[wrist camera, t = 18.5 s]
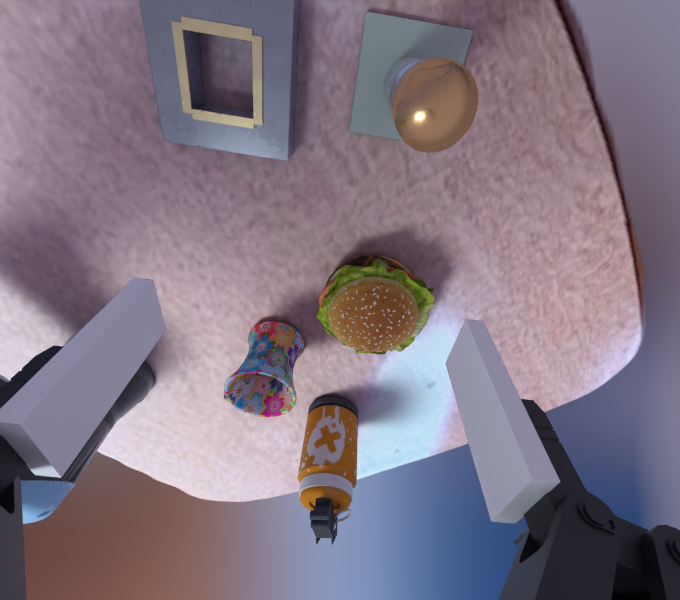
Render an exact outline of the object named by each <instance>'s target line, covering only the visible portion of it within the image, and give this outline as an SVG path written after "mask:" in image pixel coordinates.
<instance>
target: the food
mask: <svg viewBox="0 0 680 600" xmlns="http://www.w3.org/2000/svg"><path fill="white" fill-rule="evenodd" d="M430 292H433V289H431V288H430V289H427V286H426V284H425V283H424V282H423V281H422V280H421V279H419V278H417V277H415V276H413V275H412V274H411V272H410V271H409V270H408V269H407V268H406V267H405V266H404V265H403V264H402V263H400V262H399V261H397V260H394V259H391V258H388V257H385V256H379V255H366V256H360V257H358V258H355V259H353V260H349V261H348V262H346V263H345V264H343V265H342V266H340V267H338V268H337V269H336V270H335V271H334V272H333V274H332V275H331V276H330V277H329V279H328V281H327V284H326V286H325V288H324V289H323V291H322V292H321V294H320V296H319V299H318V302H319V307H320V309H319V311H318V315H317V318H318V319H319V321H320V322H321V323H322V324H323V325H324V329H325V332H326V333H327V334H329V335H333V336H334V337H335V338H336V339H338V340H340V341H341V342H342V344H343V345H346V346H349V347H351V348H353V349H355V350H356V353H374V354H386V351H388V350H390V351H393V350H395V349H396V350H397V351H399V352H400V351H402V350H404V349H405V348H406V347H408V346H409V345H410V344H411V343H412V342H413V341H414V338H415V336H417V335H418V334H419V333H420V332H421V330H422V328H423V327H424V326H425V324H426V323H427V320H428V318H429V310H430V308H435V307H434V305H433V303H434V301H435V297H434V296H433V295H431V293H430Z"/></svg>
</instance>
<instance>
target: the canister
mask: <svg viewBox="0 0 680 600" xmlns="http://www.w3.org/2000/svg"><path fill="white" fill-rule="evenodd" d="M357 436H358V410H357V408H356V407H355V406H354V405H353V404H352V403H350V402H349V401H347V400H344V399H341V398H336V397H326V398H321V399H318V400H316V401H314V402H313V403H312V404H311V405H310V407H309V412H308V418H307V424H306V430H305V437H304V443H303V449H302V455H301V461H300V467H299V473H298V480H299V482H300V491H299V497H300V501H301V503H302V504H303V506H304V507H306V508H307V509H309V510H311V512H310V520H311V528H312V529H313V531H314V533H315V536H316V544H317V543H318V541H319V540H320V538H331V539H332V544H333V542H334V540H335V538H336V536H337V522H338V521H343V520H345V519H347V518H348V517H349V516H350V515H351V514H352V511H351V510H350V509H347V508H348V507H349V505H350V503H351V502H352V489H353V488H354V487H355V485H356V476H357ZM345 511H350V513H349V515H347V516H346V517H344V518H342V519H337V516H338V515H339V514H341V513H343V512H345ZM335 524H336V528H335V530H334V525H335Z"/></svg>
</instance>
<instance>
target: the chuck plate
mask: <svg viewBox="0 0 680 600" xmlns="http://www.w3.org/2000/svg"><path fill="white" fill-rule="evenodd" d="M139 1H140V6H141V12H142V18H143V24H144V30H145V36H146V42H147V47H148V53H149V59H150V65H151V71H152V77H153V83H154V89H155V94H156V100H157V106H158V112H159V118H160V124H161V130H162V136H163V141H167V142H173V143H179V144H185V145H192V146H198V147H204V148H210V149H216V150H222V151H229V152H235V153H241V154H247V155H253V156H259V157H266V158H272V159H278V160H284V161H288V160H289V158H290V157H291V156H292V154H293V144H294V123H295V103H296V82H297V62H298V42H299V21H300V0H139ZM199 32H200V33H206V34H212V35H218V36H223V37H229V38H235V39H241V40H247V41H252V66H253V112H247V111H241V110H235V109H229V108H223V107H217V106H211V105H205V95H204V84H203V74H202V63H201V53H200V42H199Z"/></svg>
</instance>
